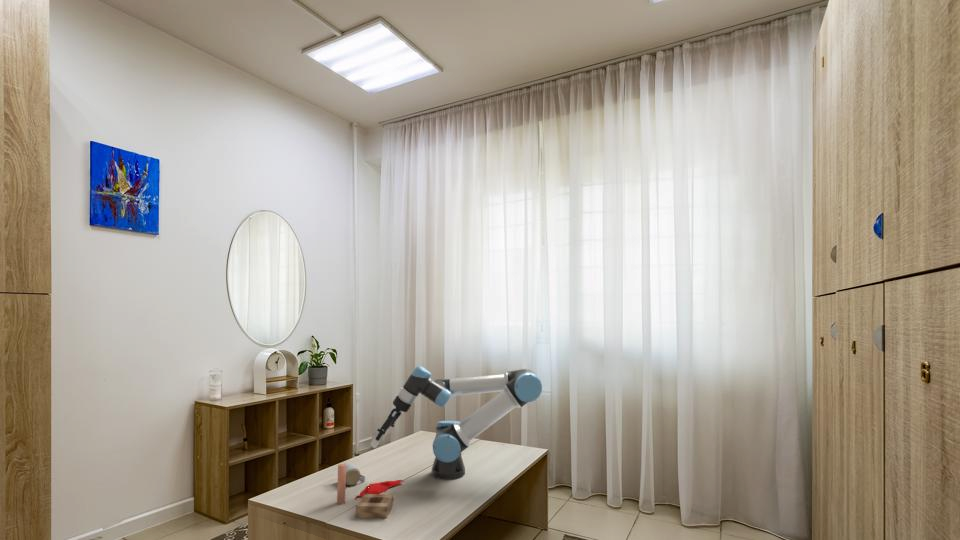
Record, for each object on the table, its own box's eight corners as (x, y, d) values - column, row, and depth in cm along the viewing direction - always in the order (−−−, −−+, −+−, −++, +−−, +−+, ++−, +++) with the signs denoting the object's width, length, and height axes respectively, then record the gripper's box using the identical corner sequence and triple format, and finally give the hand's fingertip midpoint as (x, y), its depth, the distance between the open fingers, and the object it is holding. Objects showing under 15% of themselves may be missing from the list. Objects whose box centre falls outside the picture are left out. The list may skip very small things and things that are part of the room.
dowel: (346, 501, 184) (347, 463, 186) (343, 504, 181) (344, 466, 183) (338, 500, 185) (339, 463, 186) (335, 504, 182) (337, 466, 183)
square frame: (393, 505, 181) (393, 494, 181) (386, 518, 170) (387, 506, 170) (364, 504, 181) (364, 493, 182) (356, 517, 170) (356, 505, 171)
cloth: (397, 478, 211) (397, 473, 211) (414, 487, 201) (414, 481, 201) (342, 493, 194) (342, 487, 194) (357, 503, 184) (358, 497, 184)
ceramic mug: (344, 488, 198) (345, 469, 198) (337, 482, 204) (338, 463, 205) (368, 483, 204) (369, 464, 204) (361, 477, 210) (361, 459, 211)
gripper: (403, 390, 218) (377, 430, 216) (391, 399, 193) (361, 444, 191) (416, 400, 217) (390, 440, 215) (406, 410, 192) (376, 455, 191)
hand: (376, 442), depth 203 cm, fingers open, 13 cm apart
